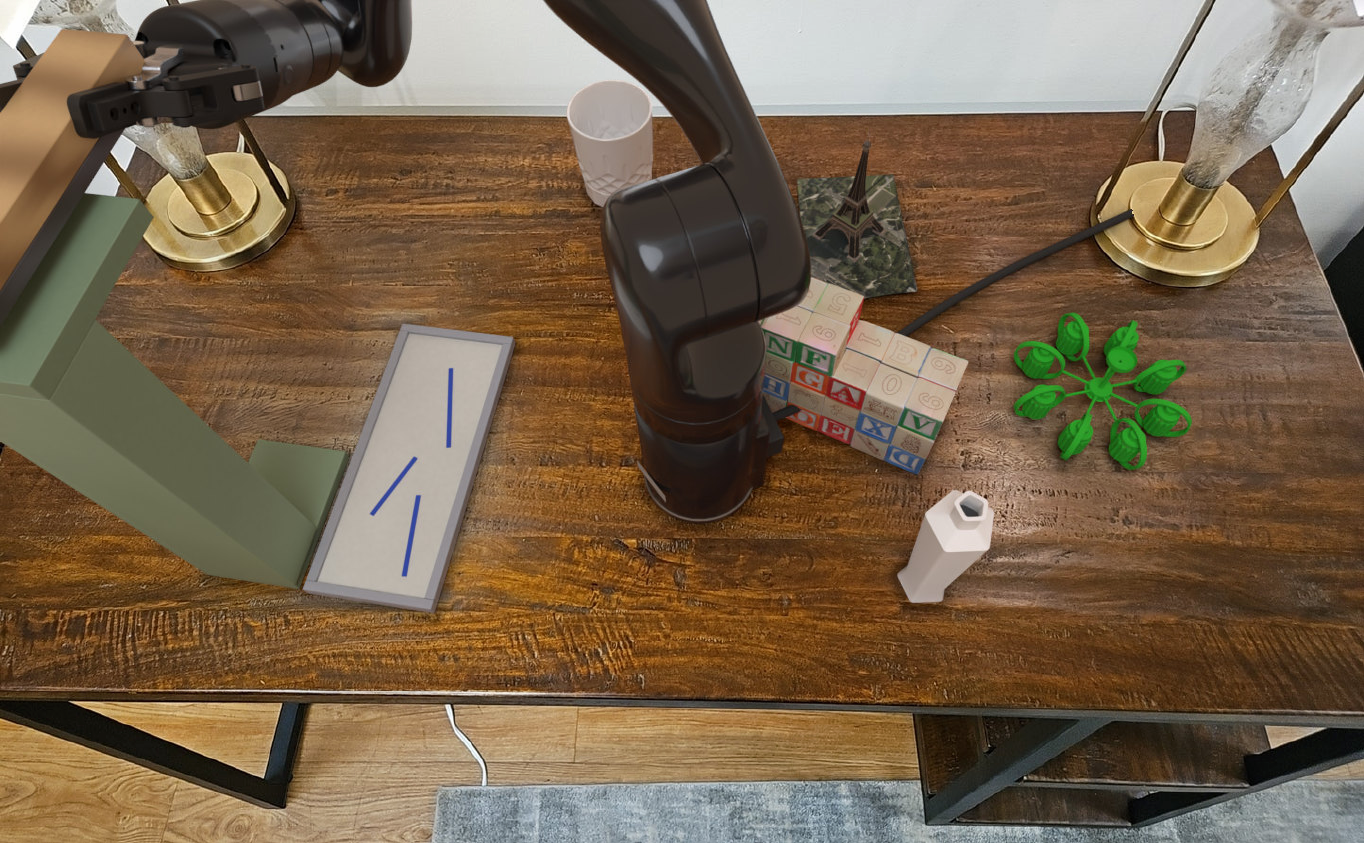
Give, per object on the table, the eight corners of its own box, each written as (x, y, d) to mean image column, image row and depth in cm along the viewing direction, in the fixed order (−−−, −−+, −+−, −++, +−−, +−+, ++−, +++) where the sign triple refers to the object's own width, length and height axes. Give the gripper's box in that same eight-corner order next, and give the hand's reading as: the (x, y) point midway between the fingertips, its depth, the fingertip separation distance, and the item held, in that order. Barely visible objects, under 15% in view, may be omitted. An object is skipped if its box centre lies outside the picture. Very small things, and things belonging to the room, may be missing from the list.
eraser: (94, 72, 52) (61, 28, 49) (157, 78, 51) (127, 33, 49) (-90, 341, 43) (-142, 305, 40) (-15, 351, 43) (-64, 315, 40)
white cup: (672, 175, 91) (668, 98, 82) (629, 227, 88) (620, 152, 79) (609, 147, 93) (598, 68, 84) (565, 196, 90) (549, 120, 81)
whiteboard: (405, 329, 83) (402, 323, 82) (515, 343, 82) (513, 336, 81) (307, 593, 71) (302, 589, 70) (434, 613, 70) (430, 609, 69)
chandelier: (1132, 315, 81) (1166, 267, 75) (1213, 459, 74) (1258, 419, 68) (976, 347, 80) (998, 301, 74) (1043, 496, 73) (1073, 459, 67)
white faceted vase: (946, 551, 71) (1000, 471, 58) (956, 604, 69) (1014, 534, 56) (889, 553, 71) (929, 474, 58) (897, 607, 69) (941, 537, 56)
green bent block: (263, 444, 77) (6, 183, 49) (350, 456, 77) (139, 198, 48) (206, 574, 72) (-119, 365, 44) (299, 589, 71) (28, 385, 43)
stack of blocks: (943, 418, 77) (981, 339, 66) (917, 477, 74) (952, 405, 63) (721, 326, 82) (723, 239, 71) (690, 378, 79) (686, 296, 68)
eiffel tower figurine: (919, 297, 83) (953, 197, 71) (810, 304, 83) (826, 205, 71) (892, 177, 90) (919, 68, 78) (792, 183, 90) (804, 75, 78)
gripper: (118, -11, 59) (-117, 25, 45) (319, 6, 58) (143, 48, 43) (148, 106, 63) (-59, 173, 49) (337, 124, 62) (181, 199, 47)
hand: (38, 114), depth 46 cm, fingers closed on eraser, 4 cm apart
